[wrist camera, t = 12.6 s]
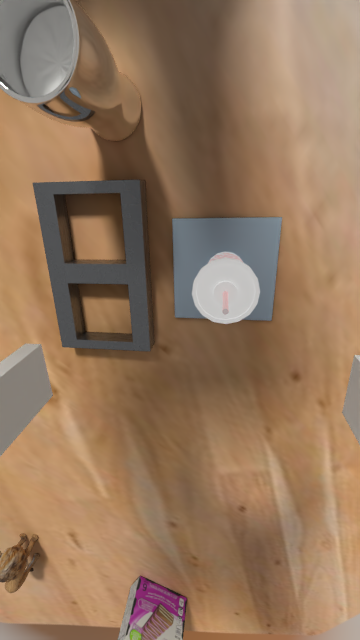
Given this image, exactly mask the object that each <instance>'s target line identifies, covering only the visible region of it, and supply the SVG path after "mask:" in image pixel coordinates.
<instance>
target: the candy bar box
mask: <svg viewBox="0 0 360 640" xmlns="http://www.w3.org/2000/svg"><path fill="white" fill-rule="evenodd" d="M186 603H187V598H186V597H184V596H182V595H179V594H177V593H175V592H173V591H171V590H169V589H167V588H165V587H163V586H160V585H158V584H156V583H154V582H152V581H150V580H148V579H146V578H144V577H142V576H139V577H138V579H137V580H136V581H135V582H134V583H133V585H132V586H131V588H130V592H129V596H128V601H127V605H126V609H125V613H124V617H123V621H122V625H121V629H120V633H119V637H118V640H183V632H184V622H185V613H186Z"/></svg>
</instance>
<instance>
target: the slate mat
mask: <svg viewBox="0 0 360 640" xmlns="http://www.w3.org/2000/svg"><path fill="white" fill-rule="evenodd" d="M281 222H282V217H255V218H173V219H172V223H173V260H174V298H175V317H178V318H206V317H204V316H203V315H202V314H201V313H200V312H199V310H198V309H197V308H196V306H195V304H194V300H193V296H192V289H193V282H194V279H195V278H196V276H197V275H198V273H199V271H200V270H201V268H203V267H204V266H205V265H207V264H208V262H209V260H210V259H211V258H212V257H213V256H215V255H216V254H217V253H221V252H232V253H234V254H236V255H237V256H239V257H240V258H241V260H242V261H243V263H245V264H246V265H248V266H249V267H250V268H251V269H252V271H253V272H254V274H255V275H256V277H257V278H258V282H259V288H260V295H259V299H258V303H257V305H256V307H255V308H254V309H253V311H252V312H251V313H250V315H248V316H247V317H245V318H244V319H242V320H270V321H272V312H273V302H274V292H275V282H276V272H277V262H278V252H279V242H280V232H281Z"/></svg>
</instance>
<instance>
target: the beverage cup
mask: <svg viewBox="0 0 360 640" xmlns="http://www.w3.org/2000/svg"><path fill="white" fill-rule="evenodd" d="M259 295H260V288H259V282H258V278H257V277H256V275H255V274H254V272H253V271H252V269H251V268H250V267H249V266H248V265H246V264H245V263H243V261H242V260H241V258H240V257H239V256H237V255H236V254H234V253H232V252H221V253H217V254H216V255H215V256H213V257H212V258H211V259H210V260H209V262H208V264H207V265H205V266H204V267H203V268H201V270H200V271H199V273H198V275H197V276H196V278H195V279H194V282H193V289H192V296H193V300H194V304H195V306H196V308H197V309H198V310H199V312H200V313H201V314H202V315H203V316H204V317H206V318H208V319H209V320H211V321H213V322H217V323H223V324H229V323H234V322H239V321H240V320H242V319H244V318H245V317H247V316H248V315H250V313H251V312H252V311H253V309H254V308H255V307H256V305H257V303H258V299H259Z"/></svg>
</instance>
